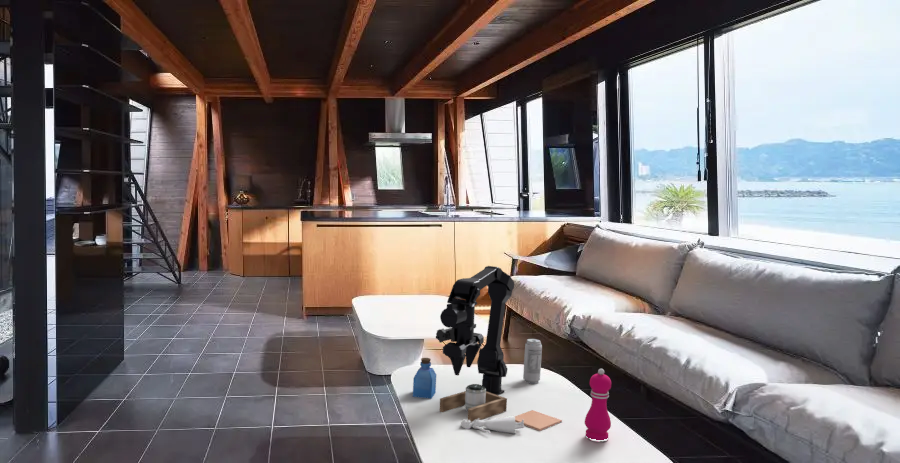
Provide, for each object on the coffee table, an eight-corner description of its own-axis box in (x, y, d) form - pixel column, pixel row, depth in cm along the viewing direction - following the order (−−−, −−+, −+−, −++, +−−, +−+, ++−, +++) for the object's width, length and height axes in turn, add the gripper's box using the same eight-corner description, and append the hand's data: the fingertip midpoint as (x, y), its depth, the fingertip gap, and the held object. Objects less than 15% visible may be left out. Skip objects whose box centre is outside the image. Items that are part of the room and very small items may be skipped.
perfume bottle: (431, 398, 210) (433, 362, 209) (412, 396, 211) (414, 360, 211) (435, 393, 216) (437, 357, 215) (417, 390, 217) (419, 355, 217)
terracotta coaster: (532, 411, 203) (532, 410, 202) (561, 422, 195) (561, 420, 195) (510, 419, 195) (510, 418, 195) (539, 430, 187) (540, 428, 187)
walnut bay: (475, 400, 211) (476, 388, 211) (506, 411, 202) (507, 398, 202) (439, 411, 199) (440, 398, 199) (470, 423, 190) (471, 410, 190)
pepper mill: (580, 432, 187) (585, 364, 186) (605, 433, 188) (609, 365, 186) (588, 443, 180) (592, 372, 178) (613, 443, 181) (618, 372, 179)
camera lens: (486, 408, 203) (487, 384, 203) (482, 415, 197) (484, 390, 197) (466, 406, 205) (468, 381, 204) (462, 412, 199) (463, 387, 198)
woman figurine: (524, 424, 180) (459, 423, 181) (524, 440, 180) (459, 439, 182) (523, 409, 191) (462, 409, 193) (523, 424, 192) (462, 424, 193)
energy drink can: (538, 379, 237) (540, 338, 236) (541, 384, 231) (543, 342, 230) (521, 378, 237) (524, 338, 236) (524, 383, 231) (526, 342, 230)
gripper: (453, 312, 210) (451, 359, 212) (427, 323, 193) (425, 375, 195) (485, 316, 206) (483, 364, 207) (462, 329, 189) (459, 381, 190)
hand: (462, 371), depth 200 cm, fingers open, 9 cm apart
